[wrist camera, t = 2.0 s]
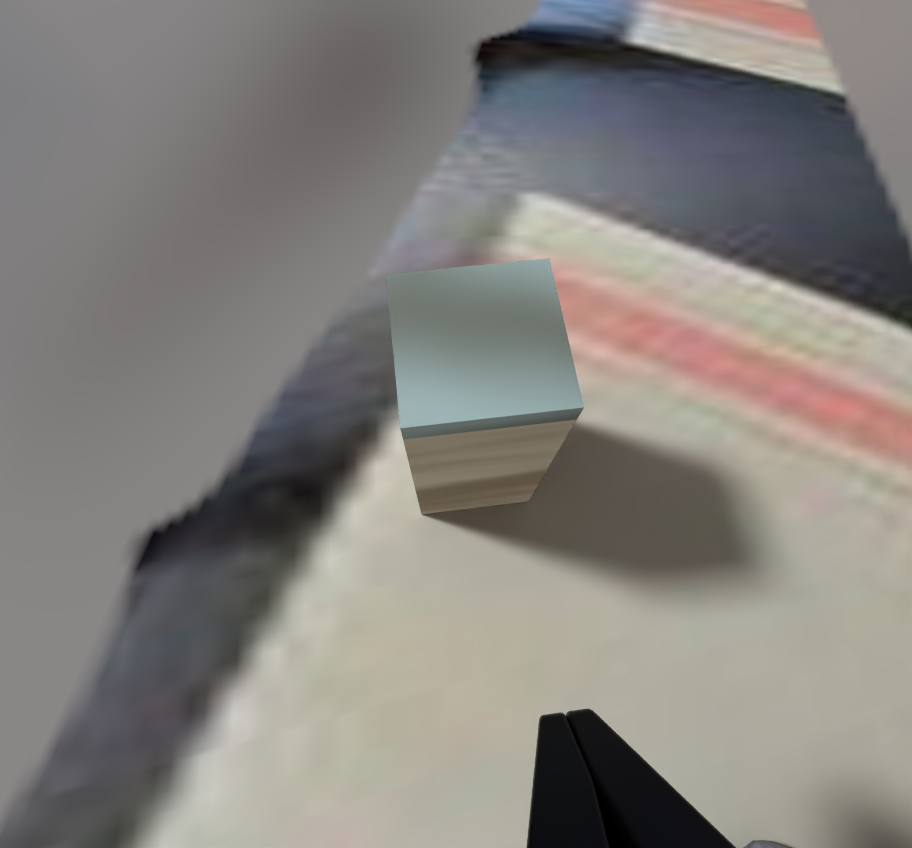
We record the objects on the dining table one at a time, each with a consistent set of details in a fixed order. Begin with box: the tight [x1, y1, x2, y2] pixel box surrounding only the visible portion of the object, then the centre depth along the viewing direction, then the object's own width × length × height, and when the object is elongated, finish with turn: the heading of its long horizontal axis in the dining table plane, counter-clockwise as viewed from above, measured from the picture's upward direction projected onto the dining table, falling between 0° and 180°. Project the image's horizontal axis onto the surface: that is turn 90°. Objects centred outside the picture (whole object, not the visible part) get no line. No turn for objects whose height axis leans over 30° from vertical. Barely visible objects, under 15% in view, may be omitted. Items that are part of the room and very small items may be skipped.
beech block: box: [386, 258, 584, 514], centre depth 18 cm, size 4×4×10 cm
